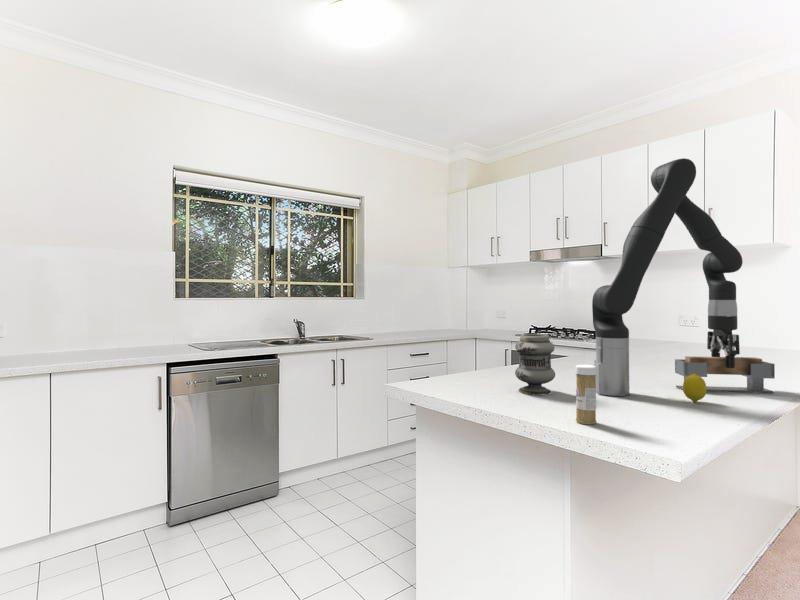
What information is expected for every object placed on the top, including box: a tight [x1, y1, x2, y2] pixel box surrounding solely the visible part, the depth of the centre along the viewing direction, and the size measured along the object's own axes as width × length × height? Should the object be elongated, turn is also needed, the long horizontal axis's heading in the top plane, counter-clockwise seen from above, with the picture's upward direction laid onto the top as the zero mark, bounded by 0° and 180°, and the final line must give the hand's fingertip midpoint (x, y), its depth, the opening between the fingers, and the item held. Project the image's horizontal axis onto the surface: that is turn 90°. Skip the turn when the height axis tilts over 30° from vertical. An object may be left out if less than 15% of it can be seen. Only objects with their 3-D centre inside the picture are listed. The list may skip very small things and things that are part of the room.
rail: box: [684, 356, 763, 376], centre depth 140 cm, size 20×4×5 cm, turn 79°
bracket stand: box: [674, 358, 776, 394], centre depth 140 cm, size 25×7×9 cm, turn 79°
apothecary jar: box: [514, 333, 556, 396], centre depth 140 cm, size 12×12×18 cm
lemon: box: [682, 374, 707, 403], centre depth 124 cm, size 6×6×8 cm
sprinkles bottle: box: [575, 364, 597, 425], centre depth 105 cm, size 5×5×14 cm
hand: (722, 365), depth 140 cm, fingers open, 8 cm apart
